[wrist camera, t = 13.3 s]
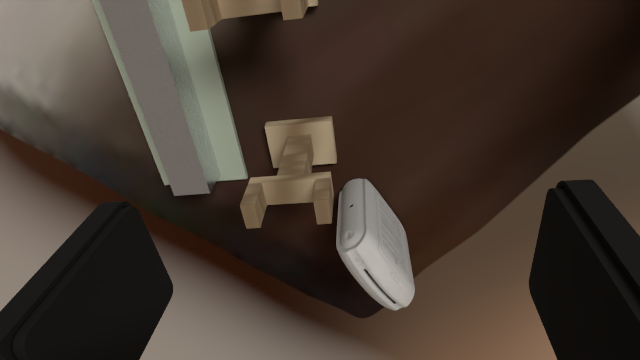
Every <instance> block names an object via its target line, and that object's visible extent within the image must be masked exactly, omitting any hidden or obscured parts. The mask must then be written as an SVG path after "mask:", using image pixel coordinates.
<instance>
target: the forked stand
mask: <svg viewBox="0 0 640 360" xmlns="http://www.w3.org/2000/svg"><path fill="white" fill-rule="evenodd" d="M181 1H182V4H183V8H184V11H185V15H186V18H187V22H188V25H189V29H190V32H192V31H200V30H209V29H210V28H211V27H212V26H214V25H215V24H216V23H218V22H219V21H220V20H221V19H226V18H234V17H242V16H250V15H258V14H266V13H274V12H282V15H283V20H290V19H299V18H303V16H304V14H305V12H306V10H307V8H308V7H310V6H318V0H181ZM265 132H266V136H267V141H268V145H269V150H270V155H271V159H272V164H273V168H279V170H278V174H277V176H267V177H253V178H250V181H249V183H248V186H247V188H246V191H245V194H244V196H243V199H242V201H241V204H240V208H241V211H242V215H243V218H244V222H245V225H246V229H247V228H260V227H261V224H262V220H263V217H264V214H265V210H266V207H267V205H276V204H291V203H306V202H314V208H315V214H316V220H317V224H332V212H333V196H334V193H333V186H332V178H331V172H320V173H311V170H312V165H320V164H333V163H337V154H336V146H335V137H334V129H333V120H332V116H327V117H316V118H305V119H294V120H284V121H273V122H266V124H265Z"/></svg>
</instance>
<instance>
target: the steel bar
mask: <svg viewBox="0 0 640 360" xmlns="http://www.w3.org/2000/svg"><path fill="white" fill-rule="evenodd" d="M99 1H100V4H101V6H102V9H103V12H104V14H105V17H106V19H107V22H108V25H109V27H110V30H111V32H112V35H113V38H114V40H115V43H116V45H117V48H118V51H119V53H120V56H121V58H122V61H123V64H124V66H125V69H126V71H127V74H128V77H129V79H130V82H131V84H132V87H133V90H134V92H135V95H136V97H137V100H138V102H139V105H140V108H141V110H142V113H143V115H144V118H145V121H146V123H147V126H148V128H149V131H150V134H151V136H152V139H153V141H154V144H155V147H156V149H157V152H158V154H159V157H160V160H161V162H162V165H163V167H164V170H165V173H166V175H167V178H168V180H169V183H170V186H171V188H172V191H173V193H174V196H179V195H193V194H207V193H211V191H212V189H213V187H214V185H215V183H216V181H217V179H218V177H219V175H220V170H219V167H218V164H217V161H216V157H215V154H214V151H213V147H212V144H211V141H210V137H209V134H208V131H207V127H206V124H205V121H204V117H203V114H202V111H201V107H200V104H199V101H198V97H197V94H196V91H195V88H194V84H193V81H192V78H191V74H190V71H189V68H188V64H187V61H186V58H185V54H184V51H183V48H182V44H181V41H180V38H179V34H178V31H177V28H176V24H175V21H174V18H173V15H172V11H171V8H170V5H169V1H168V0H99Z"/></svg>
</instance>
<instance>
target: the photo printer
mask: <svg viewBox="0 0 640 360" xmlns="http://www.w3.org/2000/svg"><path fill="white" fill-rule="evenodd" d="M336 248H337V250H338V253H339V255H340V257H341V259H342V261H343V262H344V264H345V265H346V267H347V268H348V270H349V271H350V273H351V274H352V275H353V277H354V278H355V279H356V280H357V282H358V283H359V284H360V285H361V286H362V287H363V288H364V290H365V291H366V292H367V293H368V294H369V295H370V296H371V297H372V298H374V299H375V300H376V301H377V302H378V303H380V304H381V305H383V306H385V307H386V308H389V309H391V310H398V309H399V308H402V307H407V306H408V305H409V303H410V302H411V301H412V299H413V297H414V293H415V287H414V281H413V275H412V269H411V263H410V257H409V250H408V244H407V238H406V233H405V230H404V228H403V226H402V224H401V223H400V221H399V220H398V218H397V217H396V215H395V214H394V213H393V211H392V210H391V208H390V207H389V206H388V204H387V203H386V202H385V200H384V199H383V198H382V196H381V195H380V194H379V192H378V191H377V190H376V189H375V188H374V186H373V185H372V184H371V183H370V182H369V181H368V180H367V179H354V180H351V181H349V182H348V183H346V184H345V186H344V187H343V190H342V191H341V192H340V194H339V203H338V219H337V237H336Z"/></svg>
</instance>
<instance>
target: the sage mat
mask: <svg viewBox="0 0 640 360" xmlns="http://www.w3.org/2000/svg"><path fill="white" fill-rule="evenodd" d="M168 1H169V5H170V8H171V11H172V15H173V18H174V21H175V24H176V28H177V31H178V34H179V38H180V41H181V44H182V48H183V51H184V54H185V58H186V61H187V64H188V68H189V71H190V74H191V78H192V81H193V84H194V88H195V91H196V94H197V97H198V101H199V104H200V107H201V111H202V114H203V117H204V121H205V124H206V127H207V131H208V134H209V137H210V141H211V144H212V147H213V151H214V154H215V157H216V161H217V164H218V167H219V170H220V175H219V177H218V179H217V181H226V180H239V179H247V177H248V174H247V170H246V166H245V163H244V159H243V155H242V151H241V147H240V143H239V140H238V136H237V132H236V128H235V124H234V120H233V116H232V113H231V109H230V105H229V101H228V97H227V93H226V89H225V86H224V82H223V78H222V74H221V70H220V66H219V63H218V59H217V55H216V51H215V47H214V43H213V39H212V36H211V32H210V29H209V30H200V31H192V32H190V29H189V25H188V22H187V18H186V15H185V11H184V8H183V4H182V1H181V0H168ZM92 2H93V5H94V7H95V10H96V12H97V15H98V17H99V20H100V22H101V25H102V28H103V30H104V33H105V35H106V38H107V40H108V43H109V45H110V48H111V50H112V53H113V55H114V58H115V61H116V63H117V66H118V68H119V71H120V73H121V76H122V78H123V81H124V83H125V86H126V89H127V91H128V94H129V96H130V99H131V101H132V104H133V106H134V109H135V111H136V114H137V116H138V119H139V122H140V124H141V127H142V129H143V132H144V134H145V137H146V139H147V142H148V144H149V147H150V149H151V152H152V155H153V157H154V160H155V162H156V165H157V167H158V170H159V172H160V175H161V177H162V180H163V183H164V185H170V183H169V180H168V178H167V175H166V173H165V170H164V167H163V165H162V162H161V160H160V157H159V154H158V152H157V149H156V147H155V144H154V141H153V139H152V136H151V134H150V131H149V128H148V126H147V123H146V121H145V118H144V115H143V113H142V110H141V108H140V105H139V102H138V100H137V97H136V95H135V92H134V90H133V87H132V84H131V82H130V79H129V77H128V74H127V71H126V69H125V66H124V64H123V61H122V58H121V56H120V53H119V51H118V48H117V45H116V43H115V40H114V38H113V35H112V32H111V30H110V27H109V25H108V22H107V19H106V17H105V14H104V12H103V9H102V6H101V4H100V1H99V0H92Z"/></svg>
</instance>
